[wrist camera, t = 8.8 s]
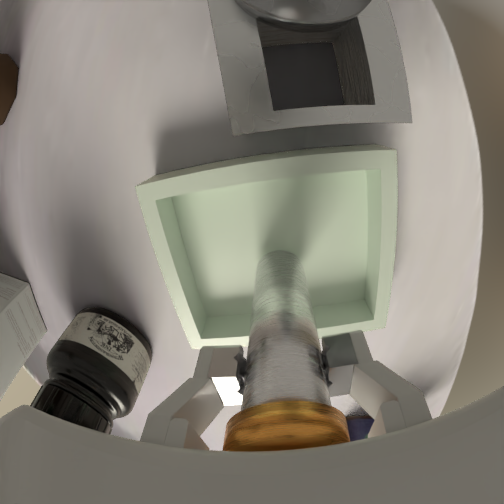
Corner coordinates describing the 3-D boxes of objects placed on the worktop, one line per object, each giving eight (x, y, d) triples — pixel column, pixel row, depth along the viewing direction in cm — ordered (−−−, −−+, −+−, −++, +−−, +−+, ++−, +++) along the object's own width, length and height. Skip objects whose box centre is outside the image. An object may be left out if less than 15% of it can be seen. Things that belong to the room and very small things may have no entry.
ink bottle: (173, 348, 23) (134, 464, 13) (137, 380, 27) (103, 469, 16) (86, 284, 21) (10, 384, 10) (67, 330, 24) (14, 411, 13)
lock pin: (244, 248, 17) (204, 438, 6) (307, 240, 16) (360, 427, 5) (254, 300, 18) (236, 481, 7) (311, 293, 18) (344, 474, 7)
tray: (154, 175, 16) (135, 186, 14) (375, 144, 15) (396, 149, 12) (199, 322, 22) (191, 349, 19) (373, 302, 20) (385, 327, 17)
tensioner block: (216, -10, 11) (186, -72, 4) (342, -18, 10) (378, -75, 3) (242, 132, 15) (223, 139, 8) (373, 120, 14) (441, 126, 7)
